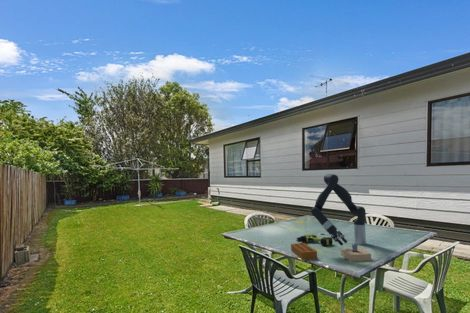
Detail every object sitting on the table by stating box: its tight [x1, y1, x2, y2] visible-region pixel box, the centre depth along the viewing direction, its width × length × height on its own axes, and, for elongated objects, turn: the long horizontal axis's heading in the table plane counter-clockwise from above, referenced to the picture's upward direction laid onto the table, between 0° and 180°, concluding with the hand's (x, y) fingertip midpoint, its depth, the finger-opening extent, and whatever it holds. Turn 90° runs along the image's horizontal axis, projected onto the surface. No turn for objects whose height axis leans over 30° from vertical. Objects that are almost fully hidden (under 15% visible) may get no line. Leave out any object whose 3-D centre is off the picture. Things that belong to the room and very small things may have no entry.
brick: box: [290, 242, 318, 261], centre depth 222 cm, size 25×12×6 cm, turn 8°
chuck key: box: [351, 242, 358, 252], centre depth 211 cm, size 4×4×10 cm
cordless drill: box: [295, 233, 334, 247], centre depth 251 cm, size 7×25×25 cm
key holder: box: [340, 247, 372, 262], centre depth 210 cm, size 16×16×4 cm
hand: (344, 243), depth 216 cm, fingers open, 8 cm apart
